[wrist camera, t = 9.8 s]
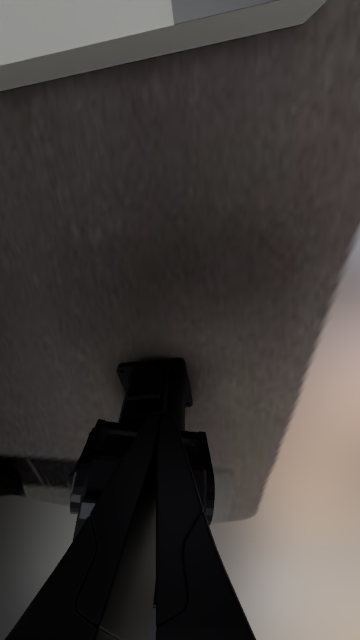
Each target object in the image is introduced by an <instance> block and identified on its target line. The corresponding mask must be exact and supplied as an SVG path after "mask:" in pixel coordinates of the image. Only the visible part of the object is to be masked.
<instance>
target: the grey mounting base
mask: <svg viewBox="0 0 360 640" xmlns="http://www.w3.org/2000/svg"><path fill="white" fill-rule="evenodd" d="M326 1H327V0H0V91H4V90H8V89H13V88H17V87H22V86H26V85H31V84H35V83H40V82H44V81H49V80H53V79H58V78H62V77H67V76H71V75H76V74H80V73H85V72H89V71H94V70H98V69H103V68H107V67H112V66H116V65H121V64H125V63H130V62H134V61H139V60H143V59H148V58H152V57H157V56H161V55H166V54H170V53H175V52H179V51H184V50H188V49H193V48H197V47H202V46H206V45H211V44H215V43H219V42H224V41H228V40H233V39H237V38H242V37H246V36H251V35H255V34H260V33H264V32H269V31H273V30H278V29H282V28H287V27H291V26H296V25H300V24H303V23H304V22H306V21H307V20H308V19H309V18H310V17H311V16H312V15H313V14H314V13H315V12H316V11H317V10H318V9H319V8H320V7H321V6H322V5H323V4H324V3H325V2H326Z"/></svg>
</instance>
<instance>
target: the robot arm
mask: <svg viewBox="0 0 360 640" xmlns="http://www.w3.org/2000/svg"><path fill="white" fill-rule="evenodd" d="M179 363H180V364H179ZM121 369H123V370H121ZM117 373H118V376H119V378H120V381H121V383H122V386H123V388H124V391H125V397H124V401H123V405H122V409H121V413H120V417H119V421H118V423H116V422H108V421H105V420H101V419H98V421H97V423H96V426H95V428H93V429H92V431H91V432H90V433H89V437H88V440H87V442H86V445H85V447H84V449H83V452H82V454H81V456H80V458H79V460H78V461H77V463H76V464H75V466H74V468H73V469H72V471H71V473H70V474H69V477H68V480H67V485H68V487H69V488H70V490H71V502H70V512H71V514H78V516H77V521H76V527H75V532H74V537H73V542H72V544H71V545H70V547H69V549H68V550H67V552H66V553H65V555H64V556H63V558H62V559H61V561H60V562H59V563H58V565H57V566H56V568H55V569H54V571H53V572H52V574H51V575H50V577H49V578H48V579H47V581H46V582H45V584H44V585H43V587H42V588H41V589H40V591H39V592H38V594H37V595H36V596H35V598H34V599H33V601H32V602H31V603H30V605H29V607H28V608H27V609H26V611H25V612H24V614H23V615H22V616H21V618H20V619H19V621H18V622H17V623H16V625H15V626H14V628H13V629H12V630H11V632H10V633H9V634H8V636H7V637H6V638H5V640H256V638H255V636H254V634H253V631H252V629H251V627H250V625H249V622H248V620H247V618H246V616H245V613H244V611H243V609H242V607H241V604H240V602H239V600H238V597H237V595H236V593H235V590H234V588H233V586H232V584H231V581H230V579H229V577H228V574H227V572H226V570H225V567H224V565H223V562H222V560H221V558H220V555H219V553H218V550H217V548H216V545H215V542H214V539H213V536H212V534H211V530H210V527H209V525H210V523H211V521H212V516H213V510H214V499H215V484H214V474H213V468H212V463H211V458H210V453H209V448H208V442H207V437H206V433H205V432H200V431H199V432H190V431H185V407H191V406H192V404H193V401H192V395H191V390H190V385H189V380H188V375H187V370H186V365H185V361H184V360H183V359H179V358H178V359H169V360H159V361H149V362H139V363H129V364H120V365H118V367H117Z"/></svg>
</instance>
